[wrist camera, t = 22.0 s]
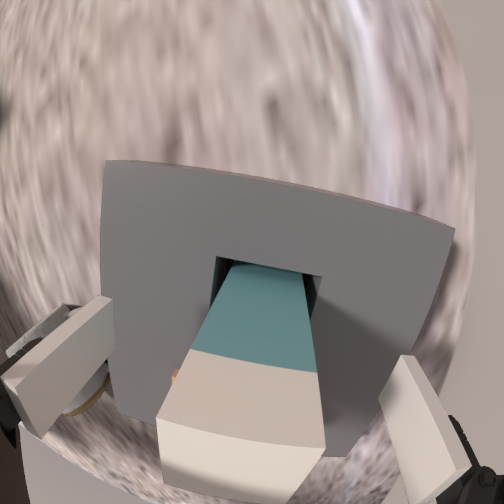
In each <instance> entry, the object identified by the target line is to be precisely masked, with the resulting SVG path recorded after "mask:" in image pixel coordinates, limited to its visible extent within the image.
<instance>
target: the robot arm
mask: <svg viewBox="0 0 504 504" xmlns="http://www.w3.org/2000/svg"><path fill="white" fill-rule="evenodd" d="M115 348H116V341H115V330H114V316H113V299H111V298H108V297H104V296H101V295H98V296H97V297H96V298H94V299H93V300H92V301H91V302H89V303H88V304H87V305H85V306H84V307H83V308H82V309H80V310H79V311H78V312H76V313H75V314H74V315H73V316H71V317H70V318H69V319H68V320H66V321H65V322H64V323H63V324H61V325H60V326H59V327H58V328H56V329H55V330H54V331H53V332H52V333H50V334H49V335H48V336H47V337H46V338H44V339H43V338H41V337H39V338H36V339H34V340H31V341H29V342H28V343H27V344H26V345H24V346H23V347H22V349H19V350H18V351H17V352H16V353H15V355H12V356H11V357H10V358H9V359H8V360H6V361H5V362H4V363H3V364H2V365H1V366H0V504H30V500H29V495H28V491H27V485H26V480H25V474H24V467H23V460H22V452H21V442H20V430H19V427H18V423H19V422H20V421H22V422H23V424H24V426H25V428H26V429H27V430H28V431H29V432H31V433H32V434H34V435H35V436H36V437H38V438H39V439H42V438H43V436H44V435H45V434H46V433H47V431H48V430H49V429H50V427H51V426H52V425H53V424H54V422H55V421H56V420H57V419H58V417H59V416H60V415H61V413H62V412H63V411H64V410H65V408H66V407H67V406H68V405H69V404H70V402H71V401H72V400H73V399H74V397H75V396H76V395H77V394H78V392H79V391H80V390H81V389H82V388H83V386H84V385H85V384H86V383H87V382H88V380H89V379H90V378H91V377H92V375H93V374H94V373H95V372H96V371H97V370H98V368H99V367H100V366H101V365H102V364H103V362H104V361H105V360H106V359H107V358H108V357H109V355H110V354H111V353H112V352H113V351H114V350H115ZM378 400H379V403H380V406H381V409H382V412H383V415H384V418H385V421H386V424H387V427H388V431H389V434H390V437H391V440H392V444H393V447H394V451H395V454H396V457H397V461H398V464H399V468H400V472H401V475H402V479H403V483H404V487H405V491H406V495H407V499H408V503H409V504H429V503H430V502H431V501H433V500H434V499H435V498H436V501H437V504H504V475H496V473H495V472H494V471H493V470H492V469H491V468H489V467H486V466H482V467H481V466H480V465H479V463H478V460H477V458H476V456H475V454H474V452H473V450H472V448H471V446H470V444H469V442H468V441H467V438H466V436H465V434H463V430H462V428H461V426H460V424H459V422H457V420H455V418H454V417H453V416H452V415H447V413H446V411H445V409H444V408H443V406H442V404H441V402H440V400H439V398H438V396H437V394H436V393H435V391H434V389H433V387H432V385H431V384H430V382H429V380H428V378H427V377H426V375H425V373H424V372H423V370H422V368H421V366H420V365H419V363H418V361H417V360H416V358H415V356H411V355H401V356H400V358H399V360H398V362H397V364H396V366H395V368H394V370H393V372H392V373H391V375H390V377H389V379H388V381H387V383H386V385H385V386H384V388H383V390H382V392H381V394H380V395H379V397H378Z"/></svg>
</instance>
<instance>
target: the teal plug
mask: <svg viewBox="0 0 504 504" xmlns="http://www.w3.org/2000/svg"><path fill="white" fill-rule="evenodd" d="M156 423H157V434H158V443H159V452H160V460H161V467H162V474H163V481H164V484H167V485H171V486H174V487H178V488H181V489H185V490H189V491H193V492H197V493H201V494H205V495H210V496H214V497H219V498H225V499H230V500H236V501H243V502H250V503H257V504H286V503H287V501H288V500H289V499H290V498H291V496H292V495H293V494H294V493H295V491H296V490H297V489H298V487H299V486H300V485H301V483H302V482H303V481H304V479H305V478H306V477H307V475H308V474H309V473H310V471H311V470H312V468H313V467H314V465H315V464H316V463H317V461H318V460H319V458H320V457H321V455H322V454H323V452H324V451H325V449H326V444H325V434H324V425H323V416H322V407H321V399H320V391H319V383H318V375H317V368H316V360H315V353H314V346H313V340H312V333H311V326H310V320H309V314H308V308H307V301H306V295H305V290H304V284H303V278H302V273H301V272H296V271H290V270H285V269H280V268H275V267H270V266H265V265H259V264H254V263H249V262H244V261H239V260H235V261H234V263H233V265H232V267H231V269H230V271H229V273H228V275H227V277H226V279H225V281H224V283H223V285H222V287H221V288H220V290H219V292H218V294H217V296H216V298H215V300H214V302H213V304H212V306H211V308H210V310H209V312H208V314H207V316H206V318H205V320H204V322H203V324H202V326H201V328H200V330H199V332H198V334H197V336H196V338H195V340H194V342H193V344H192V346H191V348H190V350H189V352H188V354H187V356H186V358H185V360H184V362H183V364H182V366H181V368H180V370H179V372H178V374H177V376H176V378H175V380H174V382H173V384H172V386H171V388H170V390H169V392H168V394H167V396H166V398H165V400H164V402H163V404H162V406H161V408H160V410H159V412H158V414H157V416H156Z"/></svg>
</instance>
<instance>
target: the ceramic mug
mask: <svg viewBox="0 0 504 504" xmlns="http://www.w3.org/2000/svg"><path fill="white" fill-rule="evenodd" d="M82 308H83V307H79V308H76V309H73V310H71V311H70V310H69V308H68V307H67V305H66V304H61V305H60V306H58V307H57V308H55V309H54V310H53V311H51V312H50V313H49V314H48V315H46V316H45V317H44V318H43V319H41V320H40V321H39V322H38V323H36V324H35V325H34V326H33V327H32V328H30V329H29V330H28V331H27V332H26V333H25V334H24V335H22V336H21V337H20V338H19V339H18V340H17V341H16V342H15V343H14V344H12V345H11V346H10V347H9V348H8V349H7V350H6V354H7V356H8V357H9V358H10V357H11V356H12V355H15V353H16V352H17V351H18V350H19V349H22V347H23V346H24V345H26V344H27V343H28V342H29V341H31V340H34V339H36V338H39V337H41V338H43V339H44V338H46V337H47V336H48V335H49V334H50V333H52V332H53V331H54V330H55V329H56V328H58V327H59V326H60V325H61V324H63V323H64V322H65V321H66V320H68V319H69V318H70V317H71V316H73V315H74V314H75V313H76V312H78V311H79V310H80V309H82ZM109 379H110V372H109V366H108V363H106V364H105V362H103V364H102V365H101V366H100V367H99V368H98V370H97V371H96V372H95V373H94V374H93V375H92V377H91V378H90V379H89V380H88V382H87V383H86V384H85V385H84V386H83V388H82V389H81V390H80V391H79V392H78V394H77V395H76V396H75V397H74V399H73V400H72V401H71V402H70V404H69V405H68V406H67V407H66V408H65V410H64V411H63V412H62V414H63V415H67V416H74V415H77V414H79V413H81V412H83V411H85V410H86V409H87V408H88V407H90V406H91V405H92V404H93V403H95V402H96V401H97V399H98V398H99V397H100V396H101V395H102V393H103V392H104V391H105V389H106V388H107V385H108V383H109Z"/></svg>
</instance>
